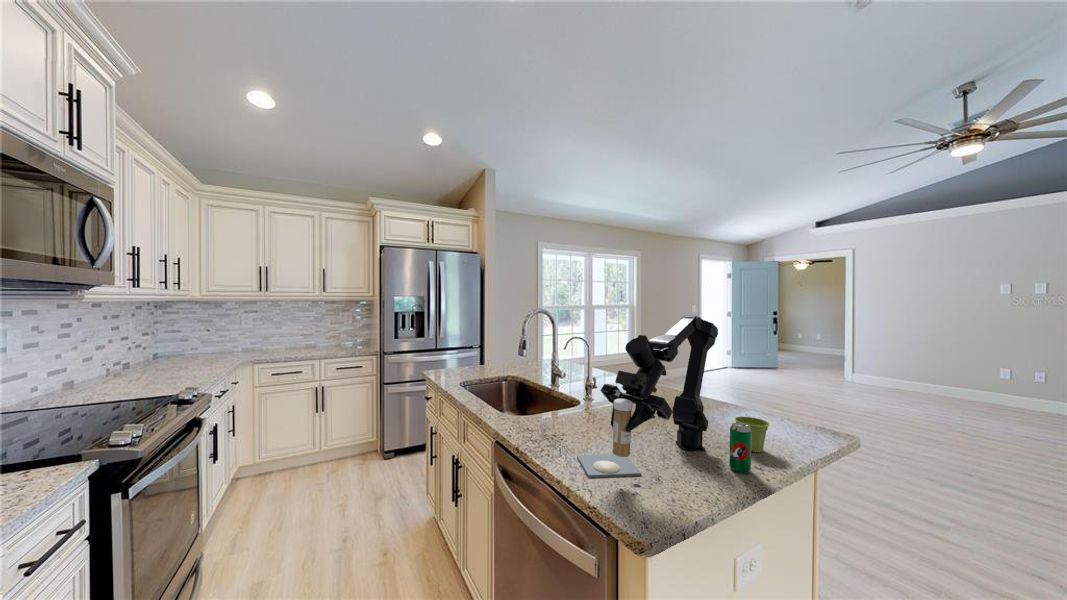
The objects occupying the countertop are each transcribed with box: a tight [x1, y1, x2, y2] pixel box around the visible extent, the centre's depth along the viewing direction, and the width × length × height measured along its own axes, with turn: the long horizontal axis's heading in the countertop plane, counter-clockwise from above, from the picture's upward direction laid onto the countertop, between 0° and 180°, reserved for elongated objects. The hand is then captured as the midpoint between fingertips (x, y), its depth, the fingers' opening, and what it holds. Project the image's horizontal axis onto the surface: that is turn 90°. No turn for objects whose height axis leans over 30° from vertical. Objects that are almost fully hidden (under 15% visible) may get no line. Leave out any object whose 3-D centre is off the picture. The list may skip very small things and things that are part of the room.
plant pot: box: [733, 415, 771, 453], centre depth 114 cm, size 9×9×9 cm
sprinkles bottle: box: [611, 399, 634, 458], centre depth 93 cm, size 5×5×13 cm
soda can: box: [728, 422, 752, 474], centre depth 99 cm, size 5×5×12 cm
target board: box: [576, 453, 642, 478], centre depth 100 cm, size 14×12×1 cm
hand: (619, 428), depth 92 cm, fingers closed on sprinkles bottle, 4 cm apart
